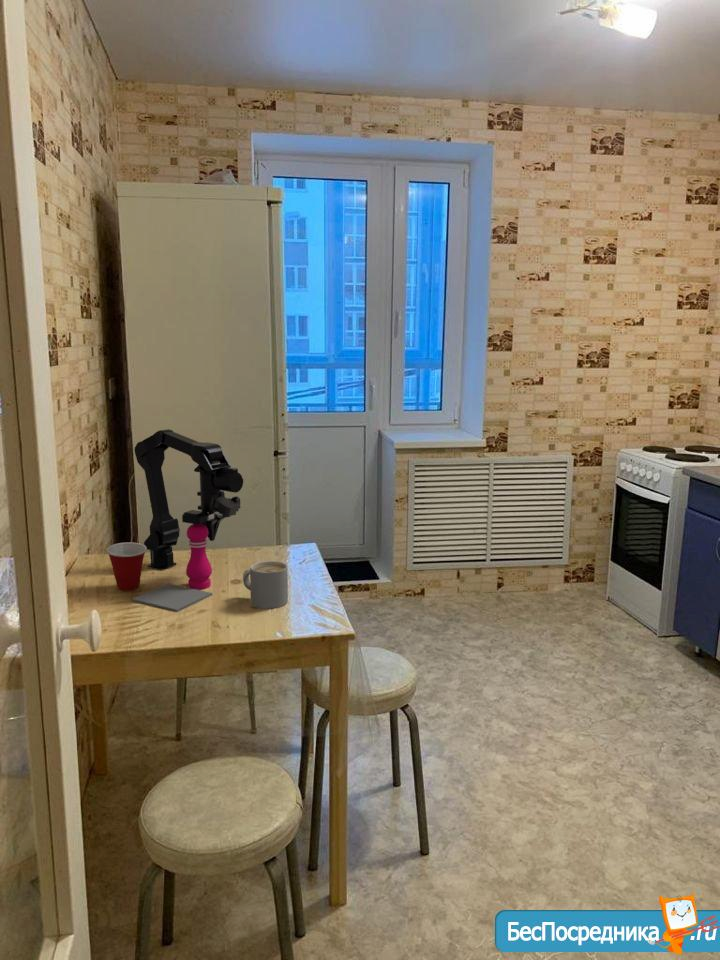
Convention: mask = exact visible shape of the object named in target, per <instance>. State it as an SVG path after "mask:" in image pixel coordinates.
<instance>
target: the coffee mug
mask: <svg viewBox="0 0 720 960" xmlns="http://www.w3.org/2000/svg"><path fill="white" fill-rule="evenodd" d="M288 573H289V572H288V565H287V564H286V563H284V562H282V561H278V560H277V561H276V560H265V561H263V560H262V561H258V562H256V563H253V564H251V565H250V568H247V569H246V570H244V571H243V574H242V582H243V585H244V587H245V588H246V589H247V590H248V591H250V603H251V606H253V607H255V608H257V609H264V610H265V609H266V610H269V609H271V610H272V609H278V608H281V607H284V606H286V605H287V604H288V603H289V602H288V601H289V599H288V598H289V594H288V593H289V587H288V586H289V585H288V584H289V582H288V579H289V578H288V577H289V576H288Z"/></svg>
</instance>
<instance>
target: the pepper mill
mask: <svg viewBox="0 0 720 960" xmlns="http://www.w3.org/2000/svg"><path fill="white" fill-rule="evenodd" d="M186 536H187V538H188V540H189V541H188V546H189V547H190V555H189V556H190V557H189V560H188V562H187V565H186V568H185V569H186V570H185V574H186V577H188V578H189V579H188V580H187V583H188V587H187V588H192V589H196V590H205V589H208V588H209V587H210V586H211V585H212V583H211V578H210V576H212V575H213V570H212V565H211V562H210V560H209V558H208V556H207V551H206V549H207V548H206V547H207V545H208V543H207V542H208V539H207V538H208V528H207V527H206V526H205V525H204V524H190V525H189V527H188V528H187V529H186Z"/></svg>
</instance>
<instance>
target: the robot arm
mask: <svg viewBox="0 0 720 960" xmlns="http://www.w3.org/2000/svg"><path fill="white" fill-rule="evenodd" d="M169 448H171V449H173V450H175V451H178V452H180V453H183V454H185V455H188V456H189V457H190V458H191V460H192V461H193V463H195V464H197V467H195V468H194V469H193V471H194V472H195V473H199V487H200V488H199V490H200V491H197V492H196V495H197V496H198V497H200V505H197V510H195V509H190V510H187V511H184V512H183V514H182V515H181V516H182V517H181V519H182V521H181V522H182V523H185V524H190V525H192V524H204V525H205V526H206V527H207V528H208V537H207V538H208V540H209V541H210V542H213V541H215V539H216V536H217V533H218V529H219V526H220V524H221V522H222V521H223V520H224V519H226V518H230V517H232V516H236V514H237V512H239V510H240V509H241V508H242V507H241V498H240V497H238V496H237V495H235V496H232V497H228V498H227V497H226V495H225V492H230V493H238V492H239V493H240V491H241V490H242V488H243V486H244V478H243V476H242V474H241V473H240V472H239V468H237V467H232V466H231V463H230V461H229V460H228V458H227V456H226V454H225V453H224V451H223V449H222V446H221V445H219V443H213V442H201V441H197V440H195V439H193V438H190V437H187V436H184V435H182V434H180V433H177V432H175V431H174V430H172V429H169V428H168V429H160V430H158V431H156V432H155V433H153V434H152V435H151V436H149V437H146V438H145V439H143V440H142V441H138V442H137V443H136V445H135V446H134V449H133V450H134V455H135V459H136V460H137V461H136V462H137V464H138V465H139V466H140V467H141V468H142V469H143V471H144V474H145V480H146V485H147V491H148V496H149V502H150V508H151V513H152V518H151V521H150V525H149V535H148V537H147V538H146V539H145V540H144V542H143V545H145V546H146V547H147V550H148V551H149V552H150V554H149V555H150V564H147V566H146V567H147V568H149V569H150V568H152V569H155V570H160V571H163V570H167V569H169V568H172V567H174V566H177V562H174V552H173V546H177V544H178V538H179V537H180V532H181V530H180V526H179V525H180V524H179V520H178V518H174V517H173V516H172V515H171V513H170V508H169V504H168V497H167V492H166V485H165V481H164V476H163V471H162V470H163V469H162V467H163V465H164V461H165V459H166V458H165V457H166V455H165V454H166V453H165V452H166V451H167V450H168V449H169ZM224 491H225V492H224Z"/></svg>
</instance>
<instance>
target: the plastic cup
mask: <svg viewBox="0 0 720 960" xmlns="http://www.w3.org/2000/svg"><path fill="white" fill-rule="evenodd" d="M147 550H148V549H147V547H146V546H145V545H144V543H139V542H133V541H132V542H131V541H130V542H119V543H113V544H112V545H109V546H108V547H107V548H106V553H107V555H108V556H109V560H110V562H111V566H112V567H111V568H112V572H113V574H114V575H113V576H114V579H115V582H116V587H117V589H118V590H119V591H122V592H129V591H130V592H131V591H135V590H137V589H139V588H140V584H141V577H142V570H143V562H144V557H145V553H146V551H147ZM138 587H139V588H138Z"/></svg>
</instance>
